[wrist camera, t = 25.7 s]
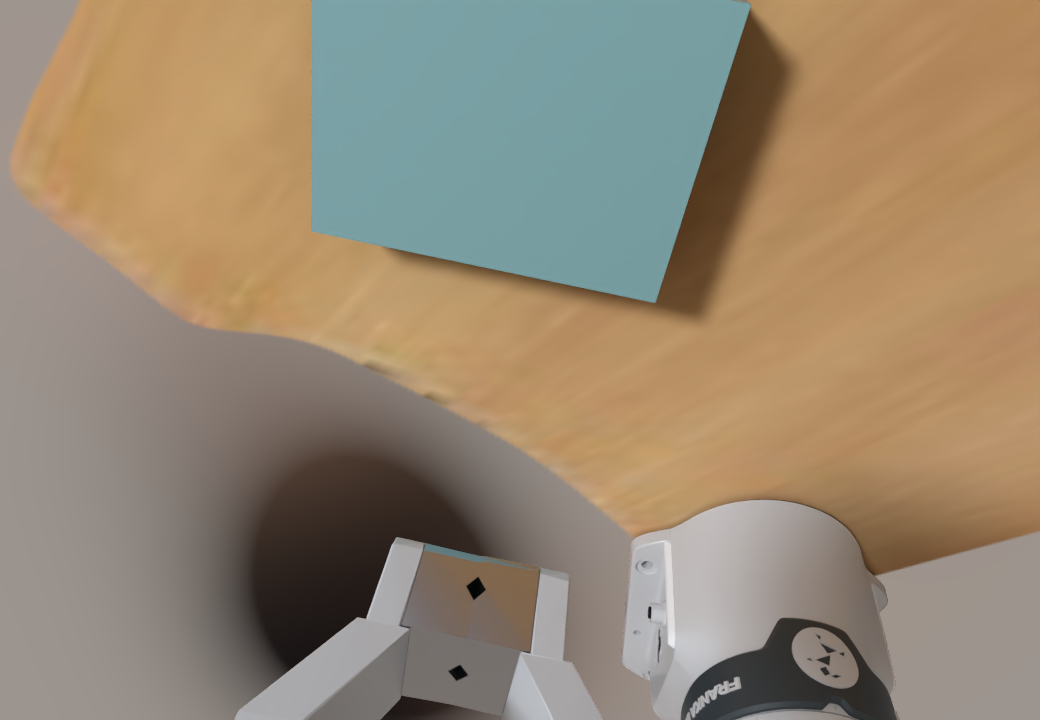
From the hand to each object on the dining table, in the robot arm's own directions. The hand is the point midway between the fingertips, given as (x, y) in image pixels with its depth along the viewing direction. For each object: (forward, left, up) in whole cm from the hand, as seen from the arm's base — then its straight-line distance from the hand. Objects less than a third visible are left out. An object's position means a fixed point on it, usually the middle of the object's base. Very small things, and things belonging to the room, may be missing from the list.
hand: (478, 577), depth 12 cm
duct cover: (0, +3, -26) cm, 26 cm away
